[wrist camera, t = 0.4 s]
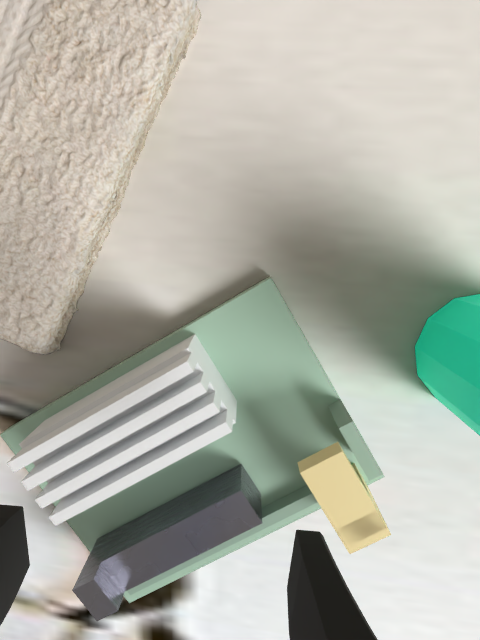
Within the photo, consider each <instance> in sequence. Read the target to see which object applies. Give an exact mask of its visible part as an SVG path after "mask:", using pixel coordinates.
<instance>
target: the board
mask: <svg viewBox="0 0 480 640" xmlns="http://www.w3.org/2000/svg"><path fill="white" fill-rule="evenodd" d="M0 436H1V437H2V438H3V440H4V441H5V442H6V443H7V445H8V446H9V447H10V449H11V450H12V451H13V452H14V454H15V456H14V457H13V458H12V459H11V460H10V461H9V462H8V463H7V465H8V466H9V467H10V469H11V470H12V471H13V473H14V472H16V471H18V470H20V469H22V468H23V467H25V468H26V469H27V471H28V472H29V474H28V475H27V476H26V477H25V478H24V479H23V480H22V481H21V483H22V484H23V485H24V487H25V488H26V489H27V491H29V490H31V489H32V488H34V487H36V486H38V485H39V486H40V488H41V489H42V491H41V493H40V494H39V495H38V497H37V498H36V499H35V501H36V502H37V503H38V505H39V506H40V507H41V509H42V508H44V507H46V506H48V505H50V504H51V503H53V504H54V506H55V509H54V510H53V512H52V513H51V515H50V516H49V519H50V520H51V521H52V523H53V524H54V525H55V526H57V525H58V524H60V523H62V522H64V521H67V523H68V524H69V525H70V527H71V528H72V529H73V530H74V532H75V533H76V534H77V536H78V537H79V538H80V540H81V541H82V542H83V543H84V545H85V546H86V547H87V549H88V550H89V551H90V553H91V551H92V549H93V547H94V545H95V542H96V540H97V539H98V538H99V537H101V536H103V535H105V534H107V533H109V532H111V531H113V530H115V529H117V528H119V527H121V526H122V525H124V524H126V523H128V522H130V521H132V520H134V519H136V518H138V517H140V516H142V515H144V514H145V513H147V512H149V511H151V510H153V509H155V508H157V507H159V506H161V505H163V504H165V503H167V502H168V501H170V500H172V499H174V498H176V497H178V496H180V495H182V494H184V493H186V492H188V491H190V490H191V489H193V488H195V487H197V486H199V485H201V484H203V483H205V482H207V481H209V480H211V479H212V478H214V477H216V476H218V475H220V474H222V473H224V472H226V471H228V470H230V469H232V468H234V467H235V466H237V465H239V464H242V465H243V467H244V468H245V470H246V471H247V473H248V474H249V476H250V478H251V479H252V481H253V482H254V484H255V485H256V487H257V488H258V490H259V491H260V493H261V506H262V522H263V523H262V524H260V525H258V526H256V527H254V528H252V529H250V530H248V531H246V532H244V533H242V534H240V535H238V536H236V537H234V538H232V539H230V540H228V541H226V542H224V543H222V544H220V545H218V546H216V547H214V548H212V549H210V550H208V551H206V552H204V553H202V554H200V555H198V556H196V557H194V558H192V559H190V560H188V561H186V562H184V563H182V564H180V565H178V566H176V567H174V568H172V569H170V570H168V571H166V572H164V573H162V574H160V575H158V576H156V577H154V578H152V579H150V580H148V581H146V582H144V583H142V584H140V585H138V586H136V587H134V588H132V589H130V590H127V591H125V592H124V597H125V598H126V599H127V601H128V602H129V603H130V602H132V601H134V600H136V599H138V598H140V597H142V596H144V595H146V594H148V593H150V592H152V591H154V590H156V589H159V588H161V587H163V586H165V585H167V584H169V583H171V582H173V581H175V580H177V579H179V578H181V577H183V576H185V575H187V574H189V573H191V572H193V571H195V570H197V569H199V568H201V567H203V566H205V565H207V564H209V563H211V562H213V561H215V560H217V559H219V558H221V557H223V556H225V555H227V554H229V553H231V552H233V551H236V550H238V549H240V548H242V547H244V546H246V545H248V544H250V543H252V542H254V541H256V540H258V539H260V538H262V537H264V536H266V535H268V534H270V533H272V532H274V531H276V530H278V529H280V528H282V527H284V526H286V525H288V524H290V523H292V522H294V521H296V520H298V519H300V518H302V517H304V516H306V515H308V514H310V513H313V512H315V511H317V510H319V509H321V508H322V510H323V511H324V513H325V515H326V516H327V518H328V519H329V521H330V523H331V524H332V526H333V528H334V529H335V531H336V532H337V534H338V536H339V537H340V539H341V540H342V542H343V544H344V545H345V547H346V549H347V550H348V552H349V553H350V554H351V553H353V552H356V551H358V550H360V549H362V548H364V547H366V546H368V545H370V544H372V543H375V542H377V541H379V540H381V539H383V538H385V537H387V536H389V535H391V533H390V531H389V529H388V527H387V525H386V523H385V521H384V519H383V517H382V515H381V513H380V511H379V509H378V507H377V505H376V503H375V501H374V498H373V496H372V494H371V492H370V490H369V488H368V486H367V485H369V484H371V483H373V482H375V481H377V480H379V479H381V478H383V477H384V475H383V473H382V471H381V469H380V468H379V466H378V464H377V462H376V461H375V459H374V457H373V455H372V454H371V452H370V450H369V448H368V447H367V445H366V443H365V441H364V440H363V438H362V436H361V434H360V433H359V431H358V429H357V427H356V426H355V424H354V422H353V420H352V419H351V417H350V415H349V413H348V412H347V410H346V408H345V406H344V405H343V403H342V401H341V400H340V398H339V396H338V394H337V393H336V391H335V389H334V387H333V386H332V384H331V382H330V380H329V379H328V377H327V375H326V373H325V371H324V370H323V368H322V366H321V364H320V363H319V361H318V359H317V357H316V356H315V354H314V352H313V350H312V349H311V347H310V345H309V343H308V342H307V340H306V338H305V336H304V335H303V333H302V331H301V329H300V328H299V326H298V324H297V322H296V321H295V319H294V317H293V315H292V314H291V312H290V310H289V308H288V307H287V305H286V303H285V301H284V300H283V298H282V296H281V294H280V293H279V291H278V289H277V287H276V286H275V284H274V282H273V280H272V279H271V277H270V276H269V277H268V278H266V279H264V280H262V281H261V282H259V283H257V284H256V285H254V286H252V287H250V288H249V289H247V290H245V291H243V292H242V293H240V294H238V295H237V296H235V297H233V298H231V299H230V300H228V301H226V302H225V303H223V304H221V305H219V306H218V307H216V308H214V309H212V310H211V311H209V312H207V313H206V314H204V315H202V316H200V317H199V318H197V319H195V320H193V321H192V322H190V323H188V324H187V325H185V326H183V327H181V328H180V329H178V330H176V331H174V332H173V333H171V334H169V335H168V336H166V337H164V338H162V339H161V340H159V341H157V342H156V343H154V344H152V345H150V346H149V347H147V348H145V349H143V350H142V351H140V352H138V353H137V354H135V355H133V356H131V357H130V358H128V359H126V360H124V361H123V362H121V363H119V364H118V365H116V366H114V367H112V368H111V369H109V370H107V371H105V372H104V373H102V374H100V375H99V376H97V377H95V378H93V379H92V380H90V381H88V382H87V383H85V384H83V385H81V386H80V387H78V388H76V389H74V390H73V391H71V392H69V393H68V394H66V395H64V396H62V397H61V398H59V399H57V400H55V401H54V402H52V403H50V404H49V405H47V406H45V407H43V408H42V409H40V410H38V411H36V412H35V413H33V414H31V415H30V416H28V417H26V418H24V419H23V420H21V421H19V422H18V423H16V424H14V425H12V426H11V427H9V428H8V429H6V430H5V431H4V432H3V433H2V434H0Z"/></svg>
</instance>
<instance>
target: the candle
mask: <svg viewBox="0 0 480 640" xmlns="http://www.w3.org/2000/svg"><path fill="white" fill-rule="evenodd" d="M415 355H416V366H417V375H418V377H419V378H420V379H421V380H422V382H423V383H424V384H425V385H426V387H427V388H428V389H429V390H430V392H431V393H432V394H433V395H434V397H435V398H436V399H438V400H439V401H440V402H441V403H442V404H443V405H445V406H446V407H447V408H448V409H449V410H450V411H452V412H453V413H454V414H455V415H456V416H457V417H459V418H460V419H461V420H462V421H463V422H464V423H466V424H467V425H468V426H469V427H470V428H471V429H472V430H474V431H475V432H476V433H477V434H478V435H479V436H480V294H476V295H470V296H465V297H459V298H454V299H453V300H451V301H450V302H449V303H447V304H446V305H445V306H443V307H442V308H441V309H440V310H438V311H437V312H436V313H434V314H433V315H432V316H430V317H429V318H428V319H427V321H426V324H425V326H424V328H423V330H422V332H421V334H420V336H419V339H418V341H417V343H416V345H415Z"/></svg>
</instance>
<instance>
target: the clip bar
mask: <svg viewBox="0 0 480 640" xmlns="http://www.w3.org/2000/svg"><path fill="white" fill-rule="evenodd" d="M262 523H263V522H262V506H261V493H260V491H259V490H258V488H257V487H256V485H255V484H254V482H253V481H252V479H251V478H250V476H249V474H248V473H247V471H246V470H245V468H244V467H243V465H242V464H239V465H237V466H235V467H234V468H232V469H230V470H228V471H226V472H224V473H222V474H220V475H218V476H216V477H214V478H212V479H211V480H209V481H207V482H205V483H203V484H201V485H199V486H197V487H195V488H193V489H191V490H190V491H188V492H186V493H184V494H182V495H180V496H178V497H176V498H174V499H172V500H170V501H168V502H167V503H165V504H163V505H161V506H159V507H157V508H155V509H153V510H151V511H149V512H147V513H145V514H144V515H142V516H140V517H138V518H136V519H134V520H132V521H130V522H128V523H126V524H124V525H122V526H121V527H119V528H117V529H115V530H113V531H111V532H109V533H107V534H105V535H103V536H101V537H99V538H98V539H97V540H96V542H95V545H94V547H93V549H92V551H91V553H90V555H89V557H88V559H87V561H86V563H85V565H84V567H83V569H82V571H81V573H80V575H79V578H78V580H77V582H76V584H75V586H74V588H73V590H72V591H73V592H74V593H75V594H76V596H77V597H78V598H79V599H80V601H81V602H82V603H83V604H84V606H85V607H86V608H87V609H88V611H89V612H90V613H91V614H92V616H93V617H94V618H95V619H96V621H98V620H100V619H103V618H105V617H107V616H109V615H111V614H113V613H115V612H117V611H118V610H119V607H120V604H121V601H122V598H123V595H124V592H125V591H127V590H130V589H132V588H134V587H136V586H138V585H140V584H142V583H144V582H146V581H148V580H150V579H152V578H154V577H156V576H158V575H160V574H162V573H164V572H166V571H168V570H170V569H172V568H174V567H176V566H178V565H180V564H182V563H184V562H186V561H188V560H190V559H192V558H194V557H196V556H198V555H200V554H202V553H204V552H206V551H208V550H210V549H212V548H214V547H216V546H218V545H220V544H222V543H224V542H226V541H228V540H230V539H232V538H234V537H236V536H238V535H240V534H242V533H244V532H246V531H248V530H250V529H252V528H254V527H256V526H258V525H260V524H262Z"/></svg>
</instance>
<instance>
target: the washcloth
mask: <svg viewBox="0 0 480 640" xmlns="http://www.w3.org/2000/svg"><path fill="white" fill-rule="evenodd" d="M200 19H201V13H200V10H199V9H198V7H197V0H0V339H3V340H5V341H9V342H11V343H14V344H16V345H17V346H19V347H21V348H23V349H25V350H29V351H30V352H32V353H39V354H50V353H52V352H54V351H55V350H60V349H61V347H60V342H61V340H62V339H63V338H64V334H65V332H66V331H67V325H68V324H69V322H70V320H71V319H72V317H73V312H77V311H78V309H77V306H76V304H77V301H78V298H79V297H80V296H81V295H82V294H83V293H84V288H85V283H86V281H87V279H88V275H89V273H90V271H91V267H92V265H93V263H94V262H95V261H96V258H97V257H98V254H97V253H98V251H100V250H101V248H102V243H103V241H104V240H105V238H106V237H107V236H108V234H109V232H110V224H111V222H112V220H113V219H114V218H115V217H116V216H117V214H118V210H119V209H120V208H121V206H120V202H121V201H122V199H123V198H124V194H125V190H126V187H127V186H128V183H129V179H130V176H131V170H132V169H133V167H134V165H135V164H136V162H137V160H138V157H139V154H140V152H141V151H142V149H143V148H144V146H145V140H146V136H147V134H148V131H149V129H150V128H151V125H152V123H153V122H154V119H155V117H156V116H157V115H158V112H159V110H160V105H161V102H162V101H163V99H164V98H165V97H166V95H167V92H168V90H169V88H170V86H171V82H172V80H173V79H174V78H175V74H176V72H177V71H178V69H179V65H180V62H181V60H182V59H183V58H185V57H186V55H185V54H186V53H187V49H188V46H189V44H190V42H191V40H192V39H193V38H194V36H195V35H196V33H197V29H198V23H199V20H200Z"/></svg>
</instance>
